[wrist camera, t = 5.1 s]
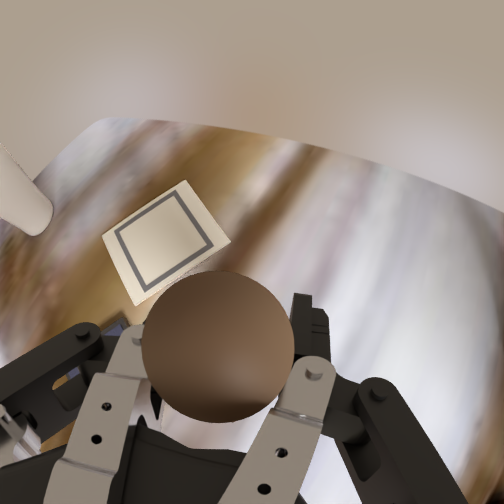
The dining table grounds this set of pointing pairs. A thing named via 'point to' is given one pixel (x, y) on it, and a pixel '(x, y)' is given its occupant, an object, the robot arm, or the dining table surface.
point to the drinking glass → (21, 198)
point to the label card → (163, 241)
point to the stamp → (217, 346)
